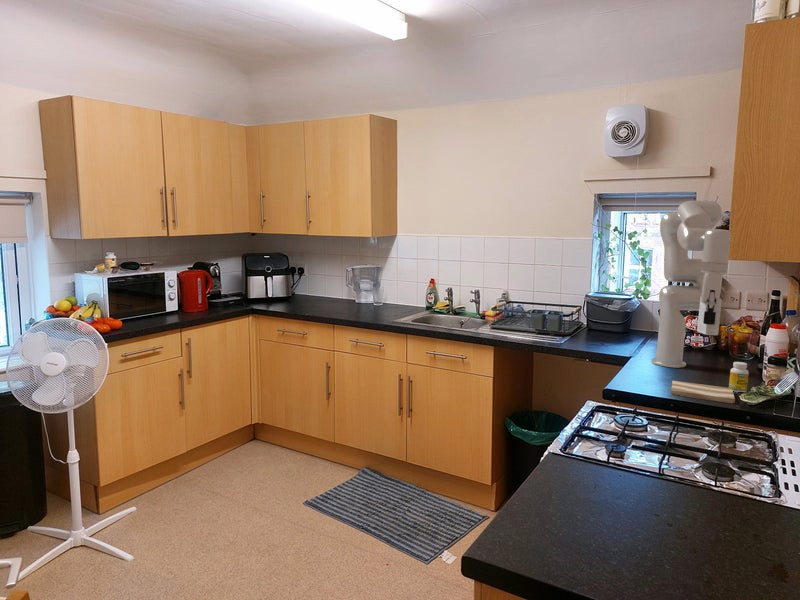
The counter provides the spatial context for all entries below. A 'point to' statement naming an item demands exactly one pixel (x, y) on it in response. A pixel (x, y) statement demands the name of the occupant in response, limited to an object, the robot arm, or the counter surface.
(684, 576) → the counter surface
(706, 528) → the counter surface
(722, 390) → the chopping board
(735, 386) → the supplement bottle
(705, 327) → the skincare box
